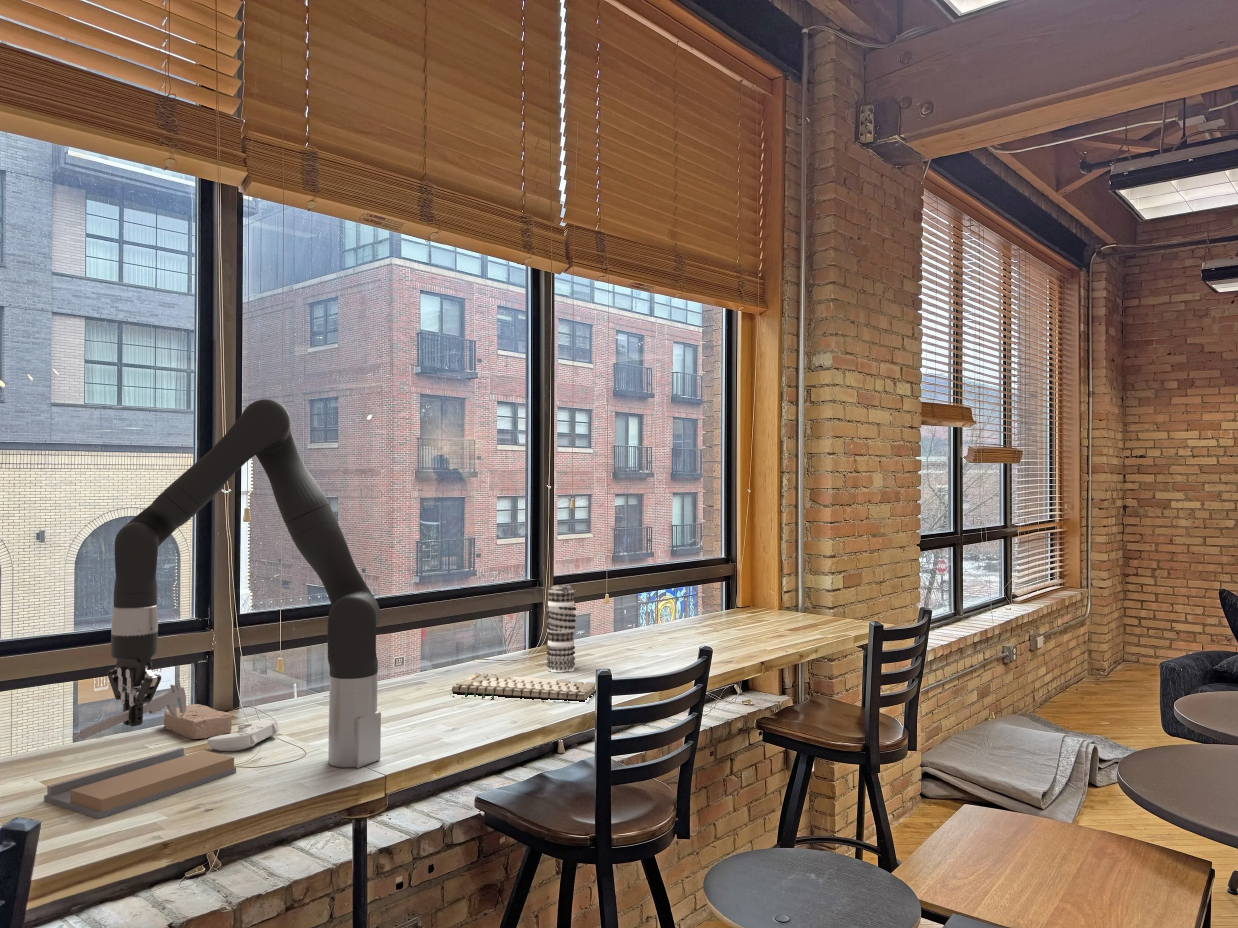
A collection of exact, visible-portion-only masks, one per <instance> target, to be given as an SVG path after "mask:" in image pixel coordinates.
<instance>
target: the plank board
mask: <svg viewBox="0 0 1238 928" xmlns="http://www.w3.org/2000/svg"><path fill="white" fill-rule="evenodd" d="M236 773H237V767H236V766H235V757H233V756H229V755H226V754H222V753H217V752H213V751H208V750H204V749H203V750H199V751H197V752H192V753H189V754H187V755H186V754H185V749H184V747H178V748H175V749H174V748H173V749H171V750H167V751H164V752H160V753H156V754H152V755H149V756H147V757H142V758H139V759H136V760H132V761H128V762H126V763H123V764H118V765H115V766H111V767H108V768H104V769H101V770H98V771H94V772H92V773H87V774H83V775H80V776H77V777H74V778H73V777H72V778H70V779H67V780H63V781H60V782H55V783H52V784H50V785H47V787H46V788H47V789H46V790H47V793H46V794H44V795H43V801H44V802H45V803H48V804H52V805H54V806H57V807H60V808H64V809H65V810H66V809H67V810H70V811H73V812H76V813H79V814H82V815H85V816H88V817H92V818H94V819H98V820H99V819H103V818H106V817H109V816H112V815H115V814H118V813H121V812H123V811H126V810H129V809H133V808H136V807H138V806H142V805H145V804H147V803H150V802H153V801H156V800H159V799H162V798H165V797H169V796H171V795H173V794H177V793H180V792H183V791H185V790H189V789H191V788H194V787H197V786H202V785H203V784H206V783H210V782H212V781H216V780H218V779H222V778H224V777H228V776H230V775H233V774H236Z"/></svg>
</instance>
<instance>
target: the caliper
mask: <svg viewBox="0 0 1238 928" xmlns="http://www.w3.org/2000/svg"><path fill="white" fill-rule="evenodd" d="M169 686H170V690H171V691H170V690H167V691H165V692H163V693H161V694H158V695H156V696H155V695H154V696H153V698H152V700H151V701H149V702H146V703H145V704H144V705H143V715H144V714H146V713H149V714H151V715H154V714H156V713H157V712H161V711H162V710H163V709H165V707H166V708H167V710H169V712H170V714H171V715H173V716H177V713H176V712H177V710H176V708H177V707H176V703H175V701H176V700H177V701H176V702H177V705H178V707H179V709H180V713H185V711H186V705H187V695H186V691H185V687H184V686H181V682H178V681H177V682H175V684H170V685H169ZM127 720H129V710H127V711H125V712H123V711H122V712H121V713H118V714H115V715H113V716H110V717H108V718H106V719H103V720H101V721H98V722H96V723H94V724H91V725H89V726H87V727H84V728H82V729H79V732H78V733H76V734H74V735H73V736H72V739H75V740H78V739H80V738H81V739H87V738H90V737H92V736H94V735H97V734H99V733H101V732H104V731H106V730H109V729H111V728H112V727H115V726H118V725H121V724H122V723H123V722H125V721H127Z"/></svg>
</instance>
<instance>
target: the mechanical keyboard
mask: <svg viewBox="0 0 1238 928" xmlns="http://www.w3.org/2000/svg"><path fill="white" fill-rule="evenodd" d="M596 684H597V682H589V681H586V682H585V683H584V681H576V680H573V681H572V682H571V681H570V680H562V679H561V680H559V681H558V679H554V678H553V679H552V678H538V677H537V678H536V677H526V676H525V677H520V676H512V678H511V676H505V675H504V676H502V675H501V676H499V678H498V676H497V673H496V674H495V673H491V674H490V675H489V673H482V674H481V673H478V672H475V673H474V674H471V675H470V676H469V677H467V678H466V679H463V680H462V681H460V682H456V683H455V684H453V685H452V687H451V693H453V694H457V695H465V697H467V696H468V695H474V697H476V695H478V696H482V698H485V696H492V697H491V698H492V699H494V696H498V697H505V698H520V699H522V698H524V699H532V700H534V699H541V700H548V699H550V700H564V701H567V700H568V701H579V702H585V700H587V698H588V697H589V698H591V697H592V696H591V695H593V697H594V696H595V694H593V693H594V692H595V693H596V690H595V685H596ZM593 697H592V698H593ZM592 698H591V699H592Z"/></svg>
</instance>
